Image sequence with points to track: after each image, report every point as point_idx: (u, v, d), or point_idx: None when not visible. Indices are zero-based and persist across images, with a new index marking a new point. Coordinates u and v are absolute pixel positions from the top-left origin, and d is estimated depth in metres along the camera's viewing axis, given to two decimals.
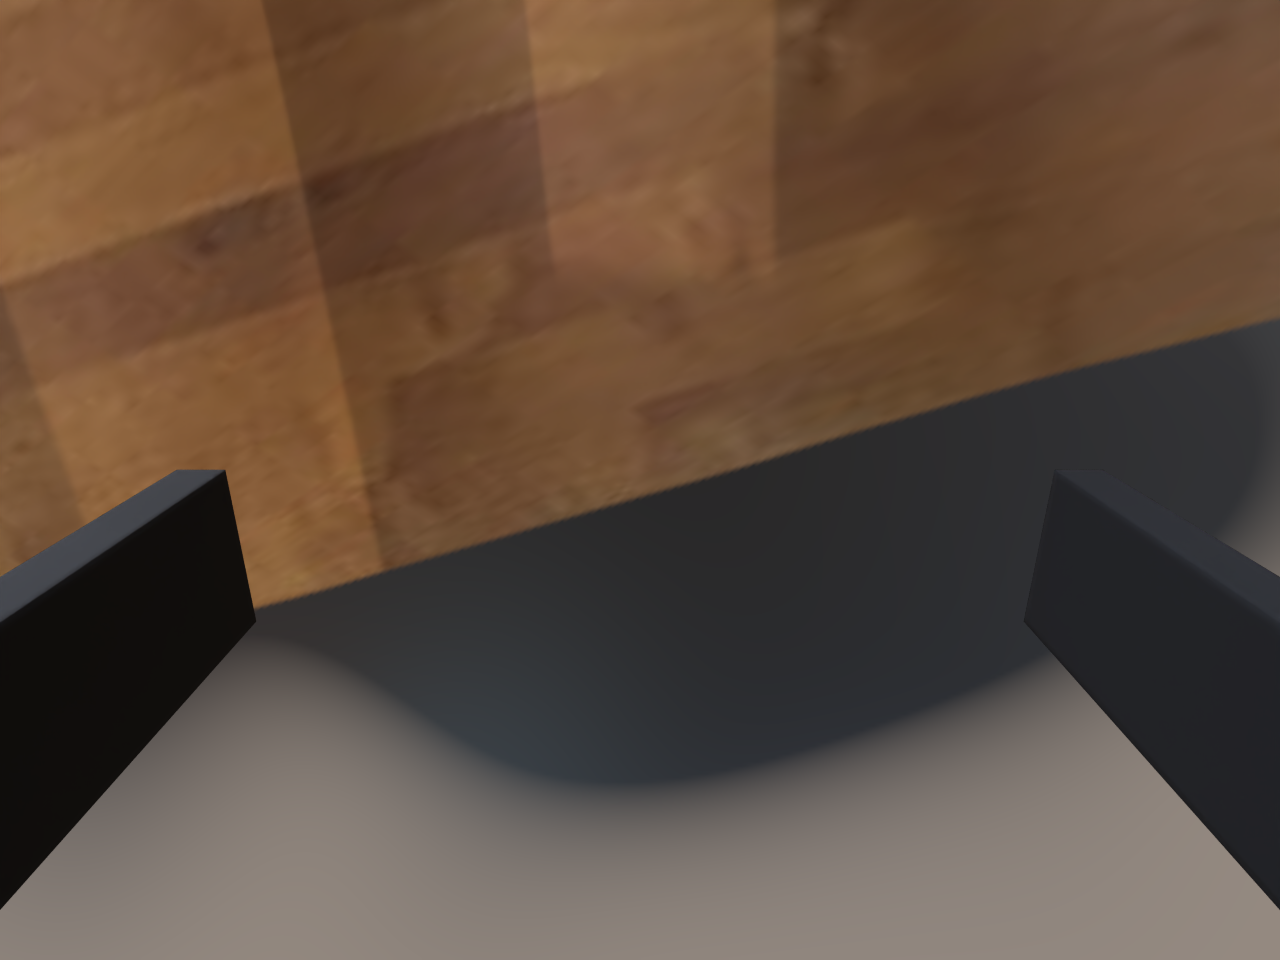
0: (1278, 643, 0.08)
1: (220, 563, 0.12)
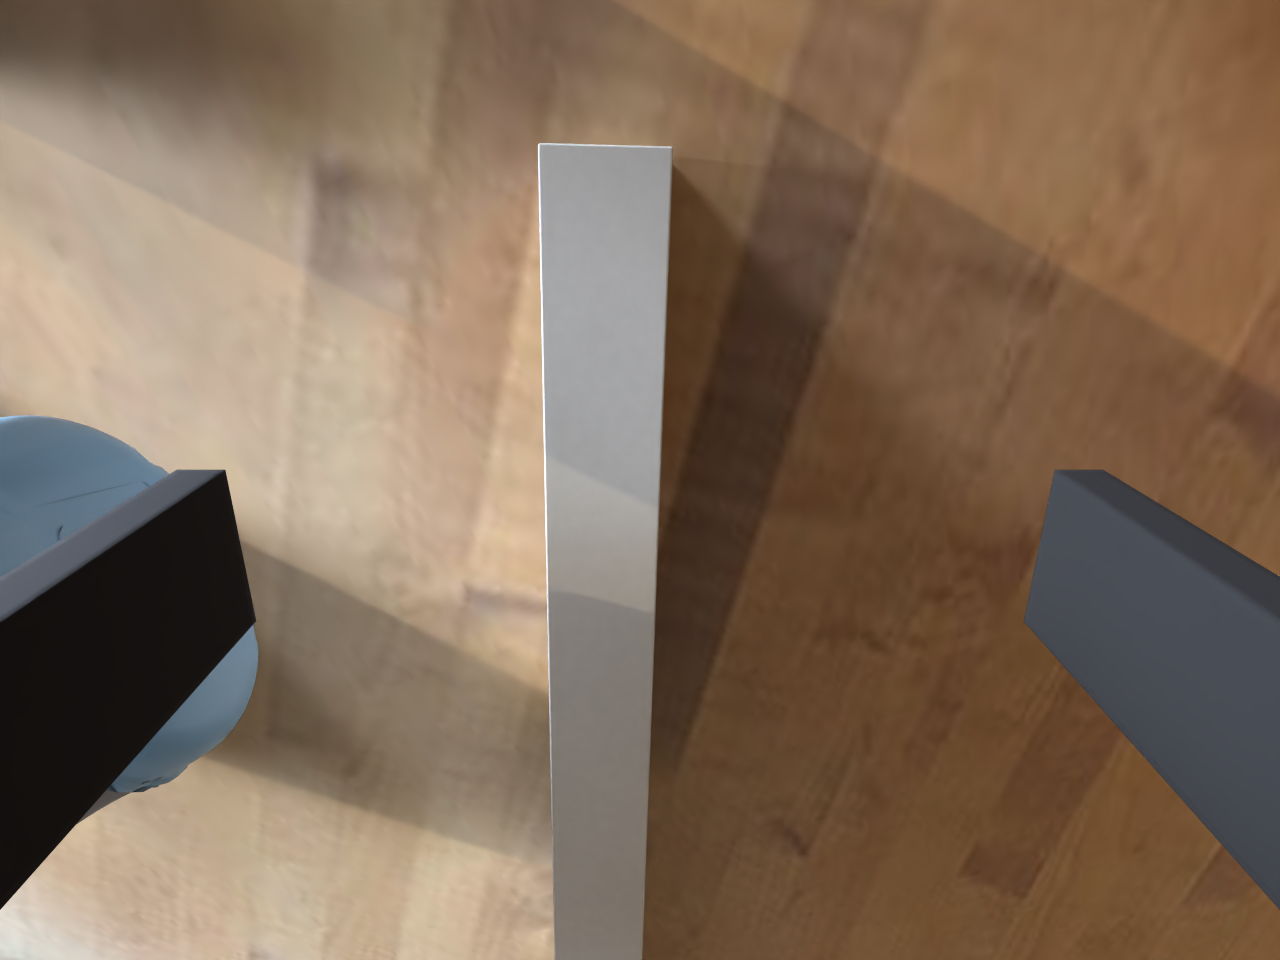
0: (1277, 643, 0.08)
1: (220, 563, 0.12)
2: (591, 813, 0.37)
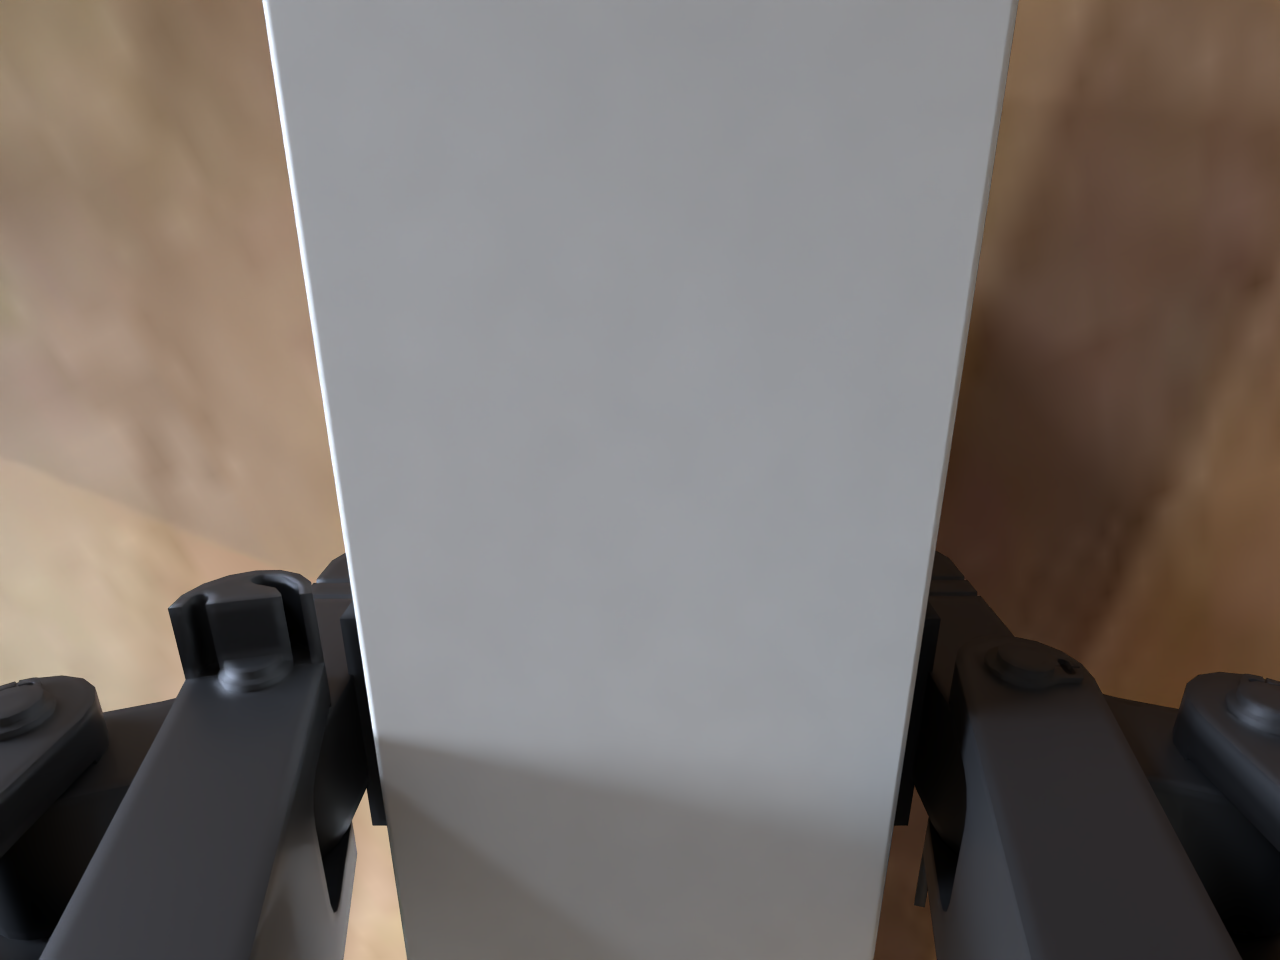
0: None
1: None
2: None
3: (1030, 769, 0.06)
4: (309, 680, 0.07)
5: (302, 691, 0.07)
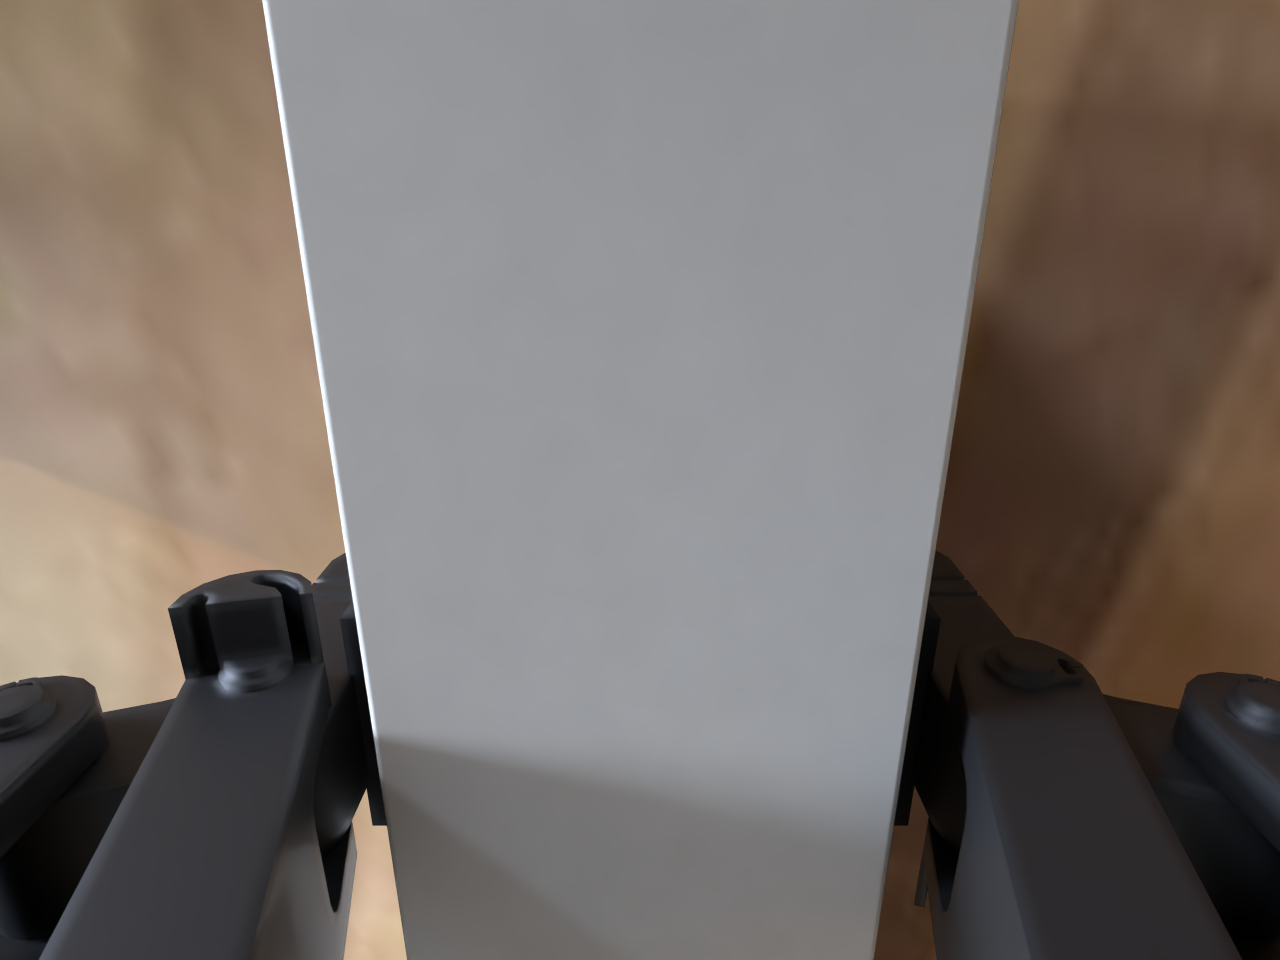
0: None
1: None
2: None
3: (1030, 769, 0.06)
4: (309, 680, 0.07)
5: (302, 691, 0.07)
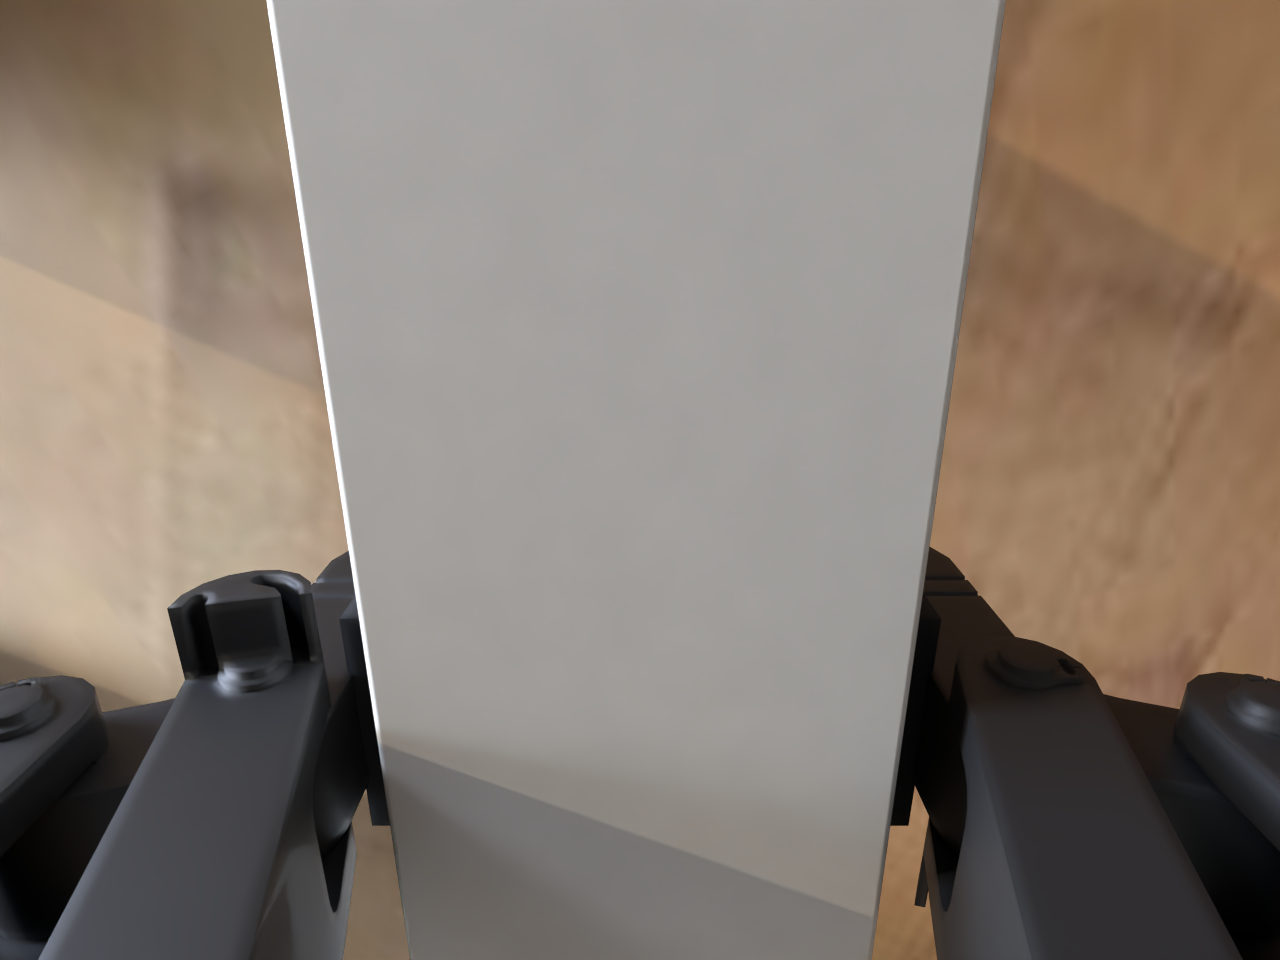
0: None
1: None
2: None
3: (1031, 768, 0.06)
4: (309, 680, 0.07)
5: (302, 691, 0.07)
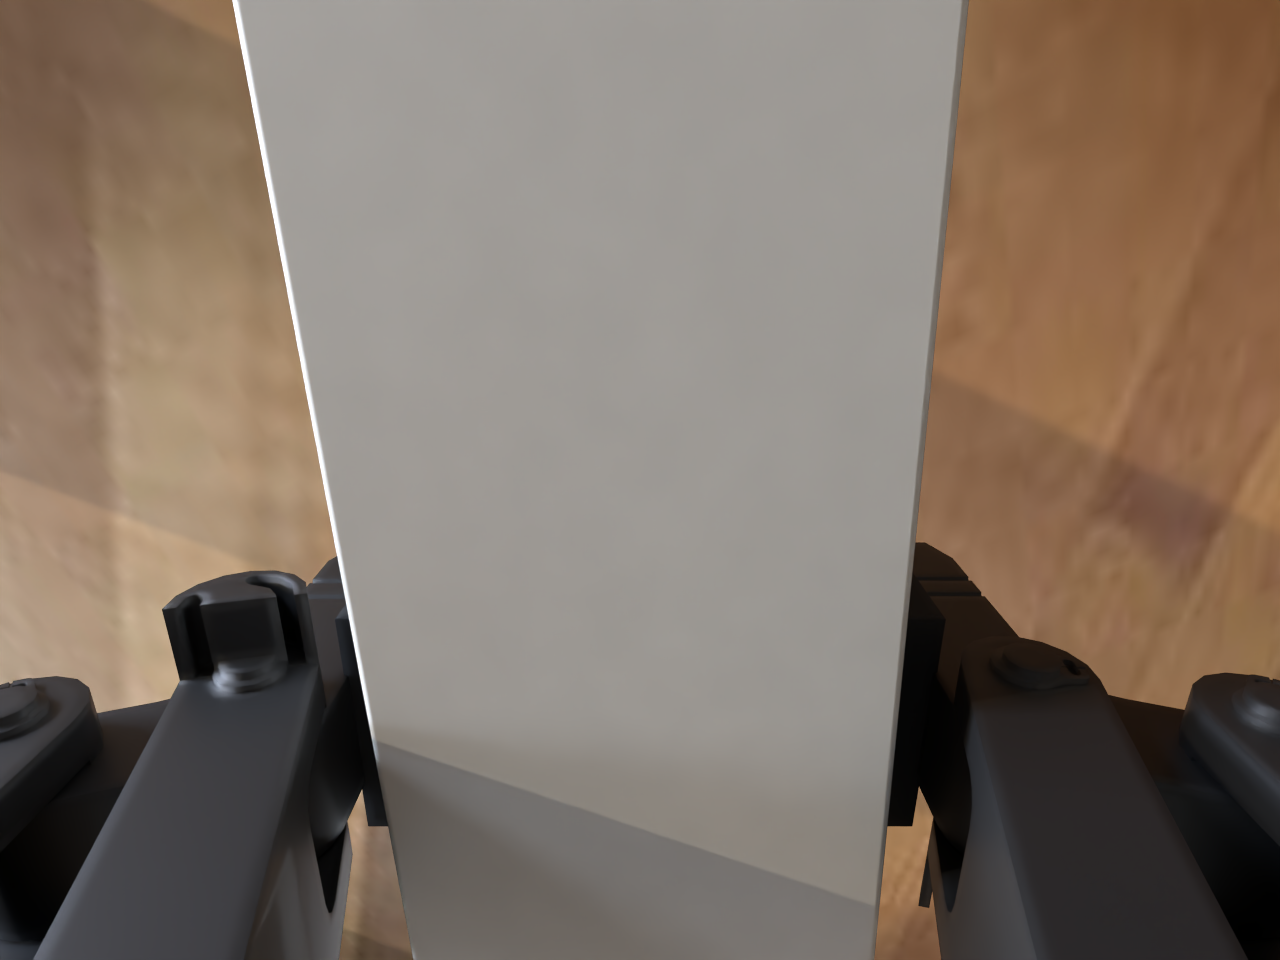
0: None
1: None
2: None
3: (1036, 769, 0.06)
4: (304, 681, 0.07)
5: (297, 692, 0.07)
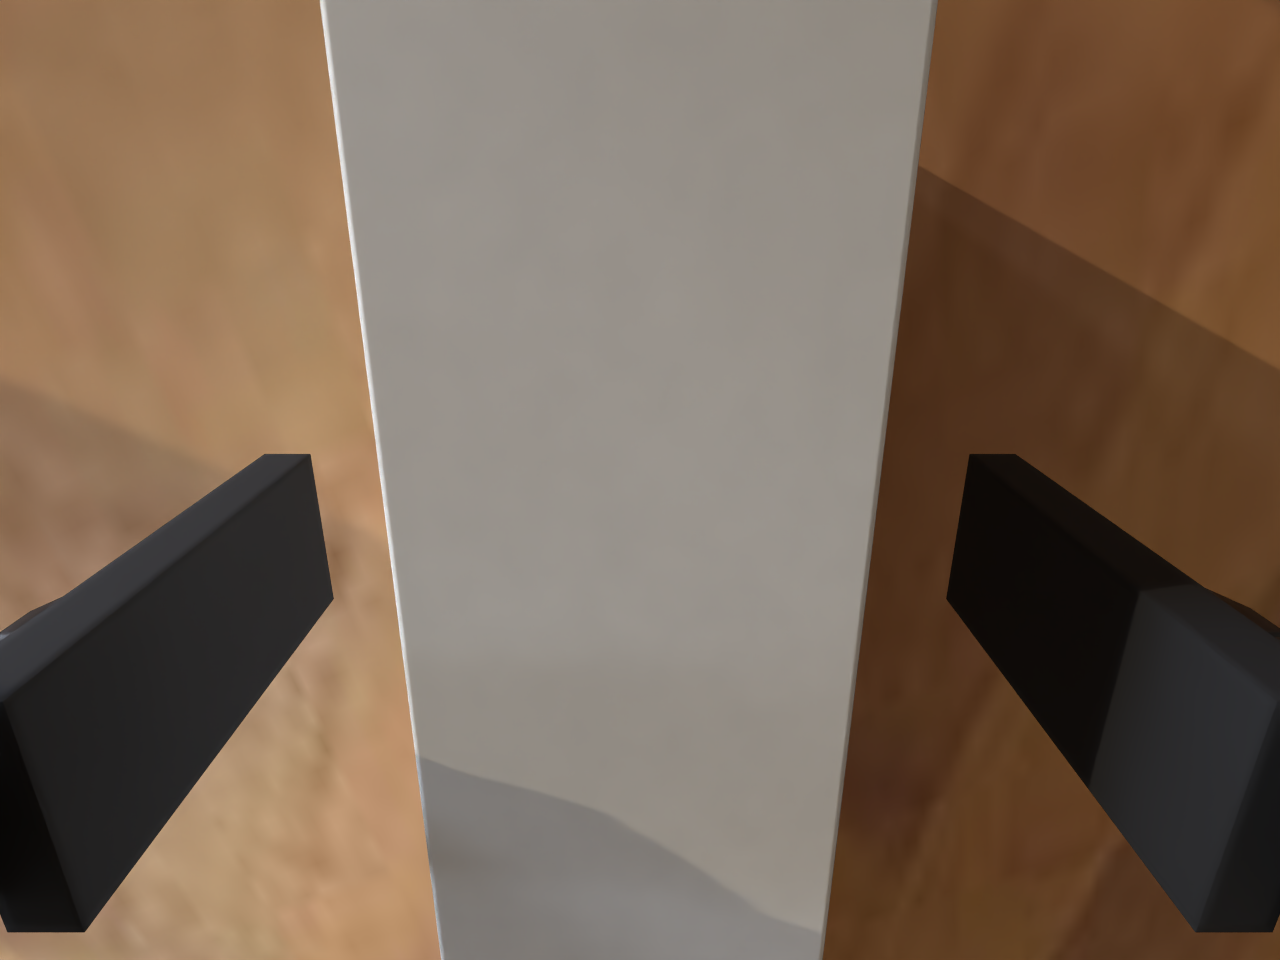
0: (1131, 605, 0.08)
1: (306, 542, 0.12)
2: None
3: None
4: None
5: None
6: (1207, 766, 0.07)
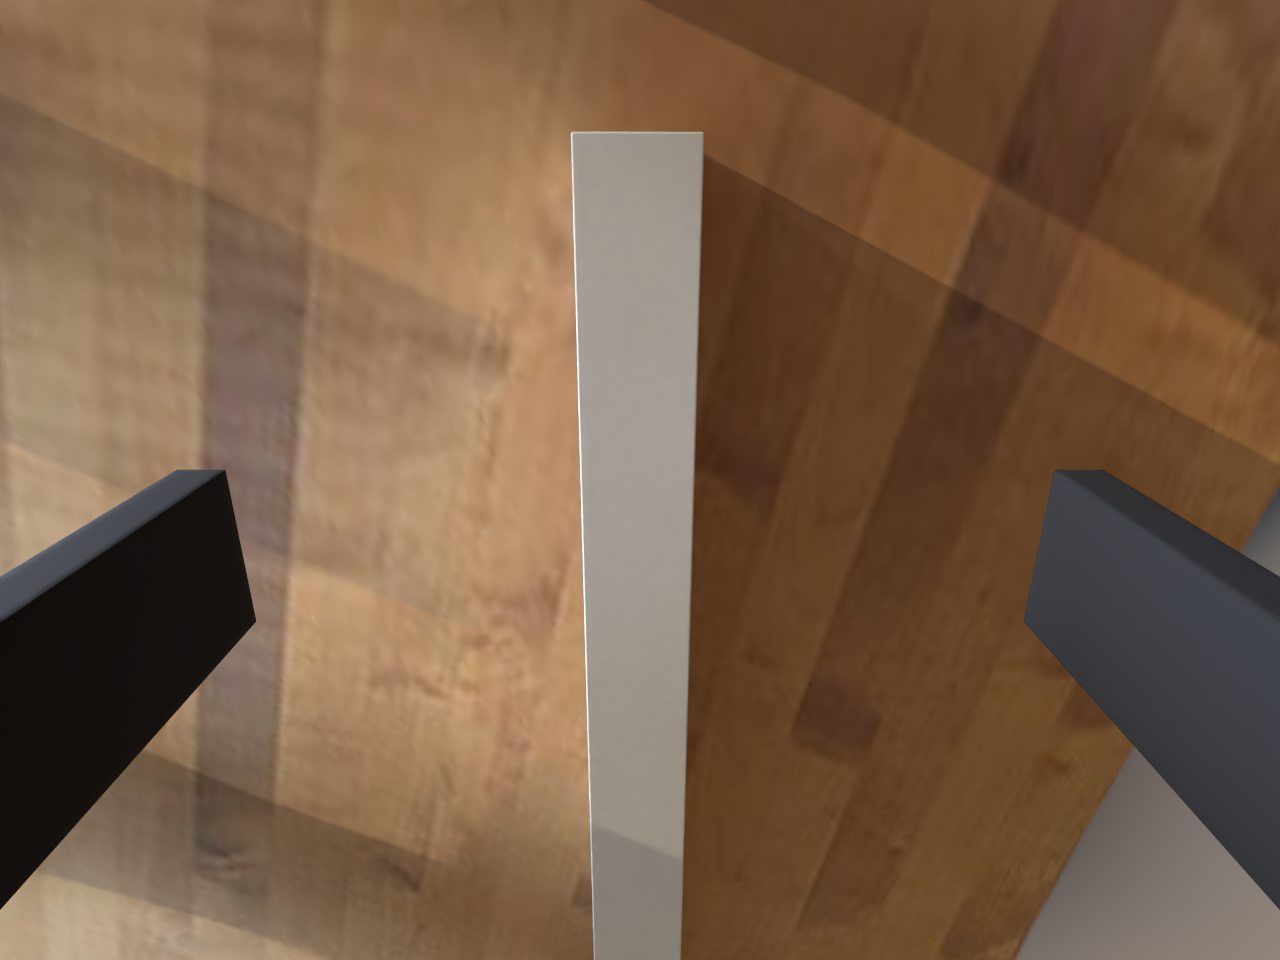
0: (1278, 643, 0.08)
1: (220, 563, 0.12)
2: (629, 800, 0.37)
3: None
4: None
5: None
6: None
